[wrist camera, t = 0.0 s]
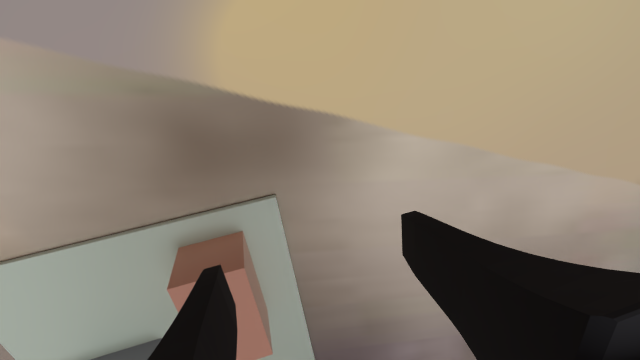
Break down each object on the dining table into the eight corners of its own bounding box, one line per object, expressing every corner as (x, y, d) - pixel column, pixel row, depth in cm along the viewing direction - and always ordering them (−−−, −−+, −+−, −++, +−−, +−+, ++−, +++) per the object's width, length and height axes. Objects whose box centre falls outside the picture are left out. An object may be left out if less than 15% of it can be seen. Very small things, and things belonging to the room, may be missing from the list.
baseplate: (320, 381, 31) (320, 385, 31) (110, 455, 28) (109, 460, 27) (275, 194, 21) (275, 197, 21) (-53, 275, 18) (-59, 279, 18)
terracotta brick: (267, 310, 25) (272, 354, 21) (213, 326, 24) (209, 375, 21) (242, 231, 22) (244, 268, 18) (178, 247, 21) (166, 289, 17)
